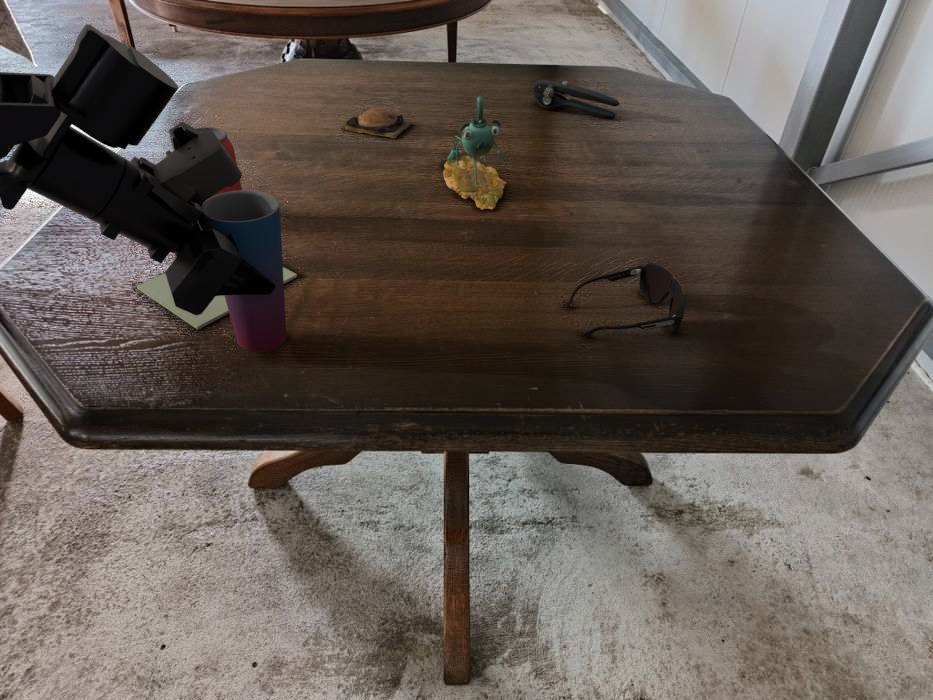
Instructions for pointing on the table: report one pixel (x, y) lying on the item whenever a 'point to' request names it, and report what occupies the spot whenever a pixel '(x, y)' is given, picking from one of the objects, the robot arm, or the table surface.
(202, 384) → the table surface
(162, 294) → the mat
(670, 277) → the sunglasses
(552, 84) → the can opener
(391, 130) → the bread roll
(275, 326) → the cup
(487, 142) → the frog figurine
